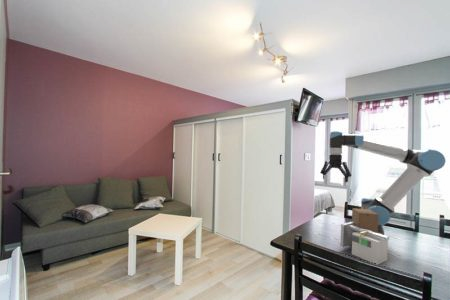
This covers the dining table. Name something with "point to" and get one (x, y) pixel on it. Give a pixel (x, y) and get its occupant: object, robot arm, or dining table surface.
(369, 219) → the wooden block
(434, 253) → the dining table surface
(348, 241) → the gauge plunger
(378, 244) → the white box
